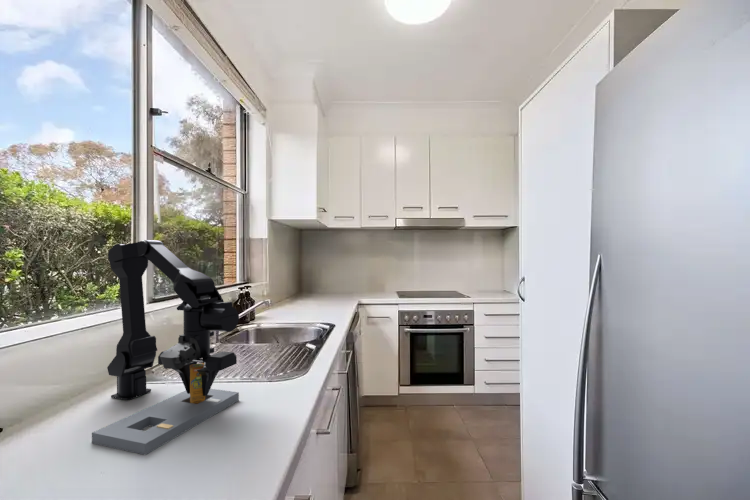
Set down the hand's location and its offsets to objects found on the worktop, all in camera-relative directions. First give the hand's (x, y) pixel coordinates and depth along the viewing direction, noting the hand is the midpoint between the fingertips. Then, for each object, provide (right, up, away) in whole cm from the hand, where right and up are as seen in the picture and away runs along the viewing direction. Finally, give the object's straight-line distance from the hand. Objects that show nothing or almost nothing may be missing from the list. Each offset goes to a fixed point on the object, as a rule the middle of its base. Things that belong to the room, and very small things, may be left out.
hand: (197, 394), depth 84 cm
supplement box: (0, -3, 0) cm, 3 cm away
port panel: (-2, -3, -6) cm, 7 cm away
